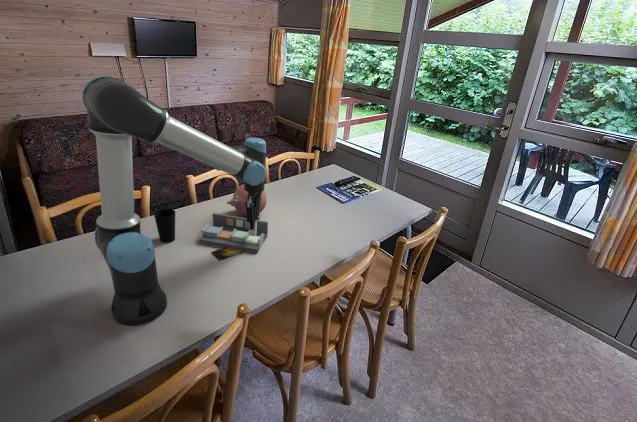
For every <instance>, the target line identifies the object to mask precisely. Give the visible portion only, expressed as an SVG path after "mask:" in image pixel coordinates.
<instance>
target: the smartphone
mask: <svg viewBox="0 0 637 422" xmlns="http://www.w3.org/2000/svg"><path fill="white" fill-rule="evenodd" d="M241 243H244V242H241ZM244 253H247V252H246V251H242V250H237V249H231V248H225V247H224V248H222V247H220V248H219V249H216V250H213V251H211V252H210V254H211V255H212V256H214V258H215V259H217V261H219V262H221V261H224V260H227V259H230V258H232V257H235V256H238V255H241V254H244Z"/></svg>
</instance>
